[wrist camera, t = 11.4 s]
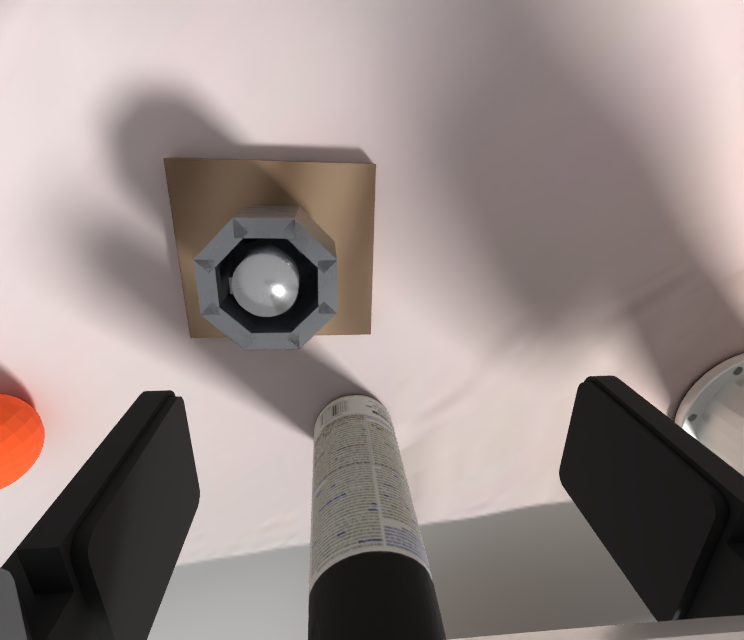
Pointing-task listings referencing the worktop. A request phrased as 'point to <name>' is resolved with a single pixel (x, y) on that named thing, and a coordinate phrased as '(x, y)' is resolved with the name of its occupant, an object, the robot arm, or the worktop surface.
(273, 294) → the grey rounded fixture
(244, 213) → the octagonal pot
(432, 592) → the spray can
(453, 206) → the worktop surface
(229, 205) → the base plate
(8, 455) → the clementine
